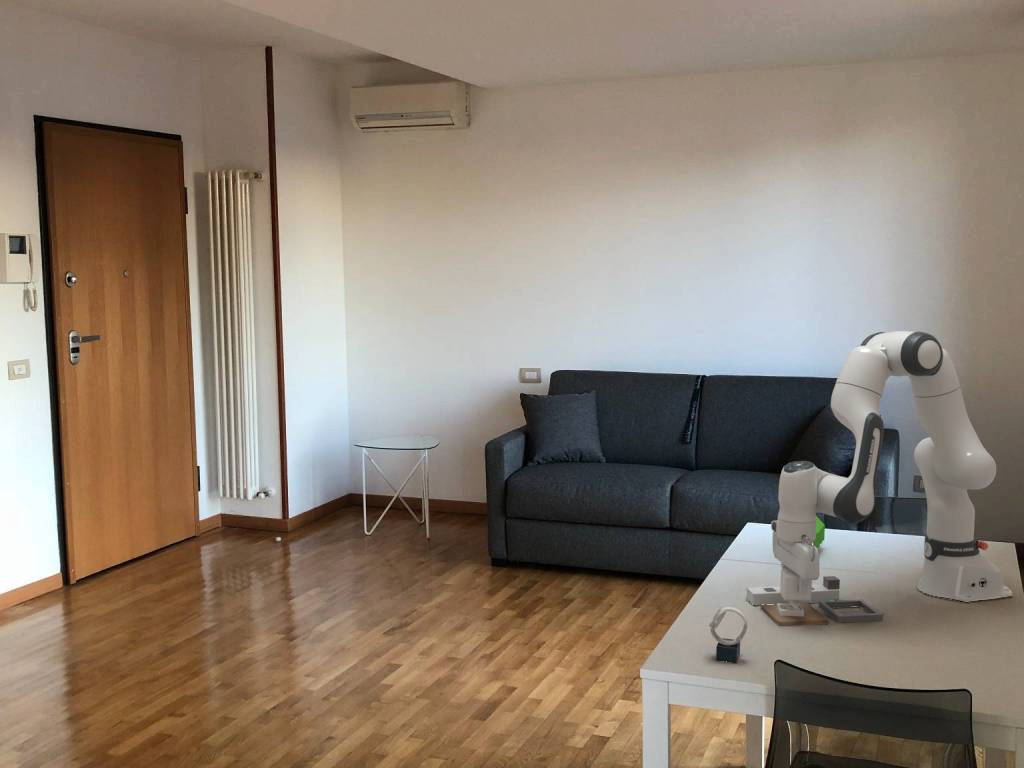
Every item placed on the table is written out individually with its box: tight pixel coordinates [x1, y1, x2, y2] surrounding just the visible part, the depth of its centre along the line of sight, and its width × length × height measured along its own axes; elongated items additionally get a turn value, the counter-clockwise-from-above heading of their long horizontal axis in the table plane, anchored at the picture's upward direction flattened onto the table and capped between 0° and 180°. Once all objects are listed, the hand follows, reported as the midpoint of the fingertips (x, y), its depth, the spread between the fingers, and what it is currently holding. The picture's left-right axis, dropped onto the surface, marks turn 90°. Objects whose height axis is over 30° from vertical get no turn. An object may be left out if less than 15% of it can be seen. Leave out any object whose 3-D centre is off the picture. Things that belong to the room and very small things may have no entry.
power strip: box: [745, 575, 841, 606], centre depth 262 cm, size 22×8×5 cm, turn 97°
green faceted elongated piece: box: [813, 515, 826, 549], centre depth 303 cm, size 11×12×30 cm
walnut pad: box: [760, 603, 830, 627], centre depth 253 cm, size 12×12×1 cm
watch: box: [709, 605, 749, 664], centre depth 227 cm, size 6×8×11 cm
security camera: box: [777, 567, 813, 616], centre depth 252 cm, size 6×7×10 cm
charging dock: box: [818, 599, 884, 623], centre depth 254 cm, size 11×11×2 cm
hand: (794, 587), depth 252 cm, fingers open, 8 cm apart
